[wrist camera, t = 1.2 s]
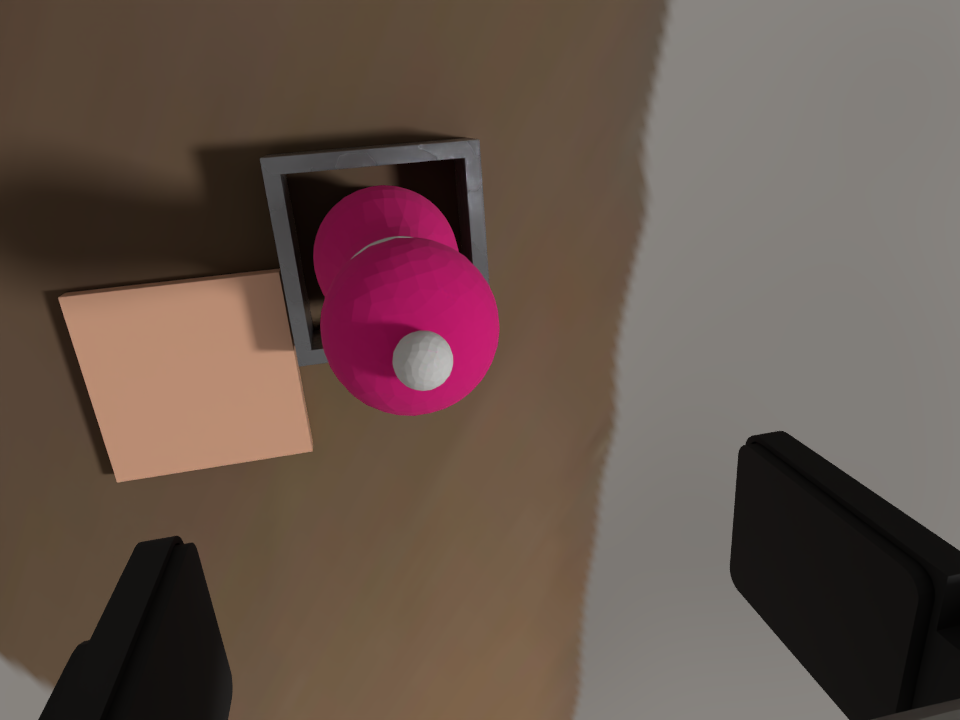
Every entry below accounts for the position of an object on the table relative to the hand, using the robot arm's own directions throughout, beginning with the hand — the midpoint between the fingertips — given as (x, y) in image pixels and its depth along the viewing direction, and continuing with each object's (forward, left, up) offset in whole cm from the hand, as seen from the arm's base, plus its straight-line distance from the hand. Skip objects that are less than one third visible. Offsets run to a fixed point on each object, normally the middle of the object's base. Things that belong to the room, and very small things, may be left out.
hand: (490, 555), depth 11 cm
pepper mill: (0, 0, -28) cm, 28 cm away
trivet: (+6, -11, -28) cm, 31 cm away
